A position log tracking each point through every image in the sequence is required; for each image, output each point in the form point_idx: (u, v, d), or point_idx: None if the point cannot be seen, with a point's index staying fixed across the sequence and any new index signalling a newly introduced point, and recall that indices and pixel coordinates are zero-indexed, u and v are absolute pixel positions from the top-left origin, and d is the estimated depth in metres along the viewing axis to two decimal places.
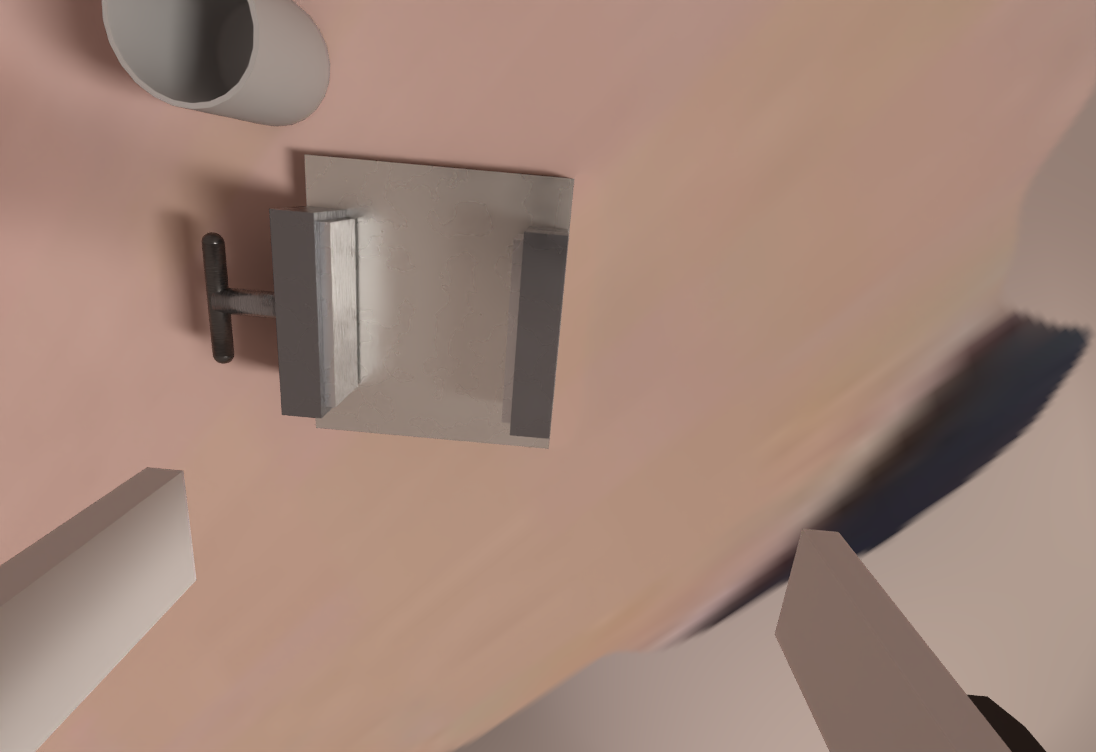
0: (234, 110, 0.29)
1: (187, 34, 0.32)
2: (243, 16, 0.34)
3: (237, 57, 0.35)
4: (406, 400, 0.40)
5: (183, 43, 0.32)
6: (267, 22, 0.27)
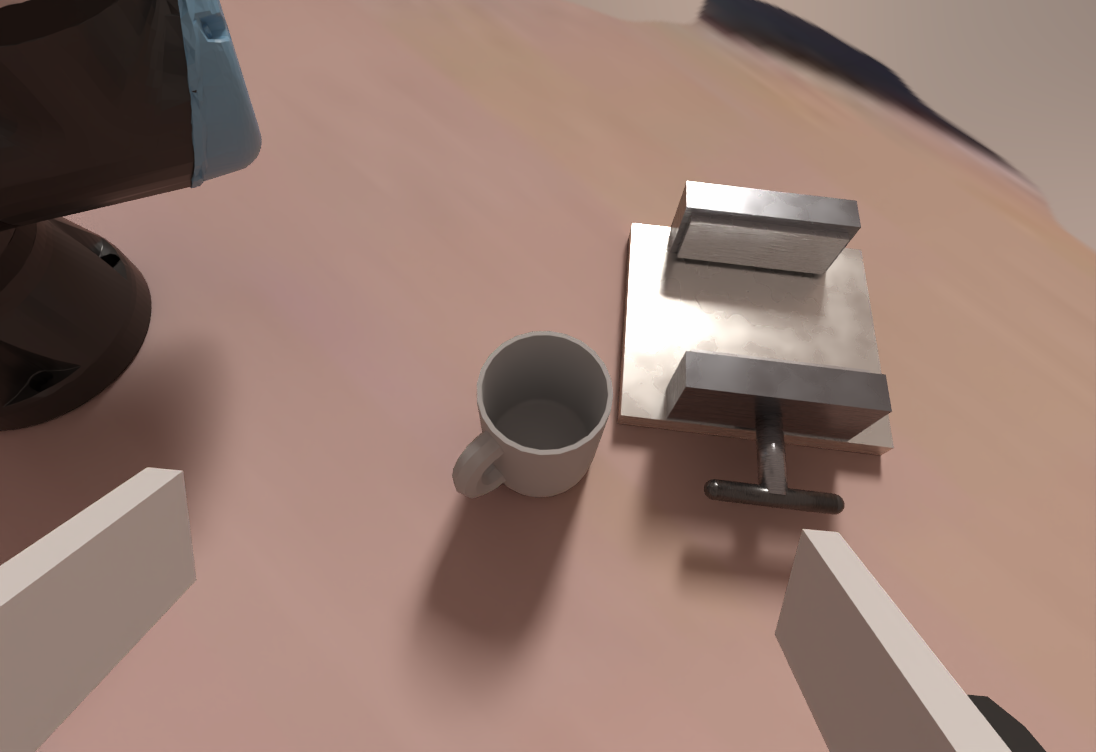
0: None
1: None
2: None
3: None
4: (841, 358, 0.41)
5: None
6: None
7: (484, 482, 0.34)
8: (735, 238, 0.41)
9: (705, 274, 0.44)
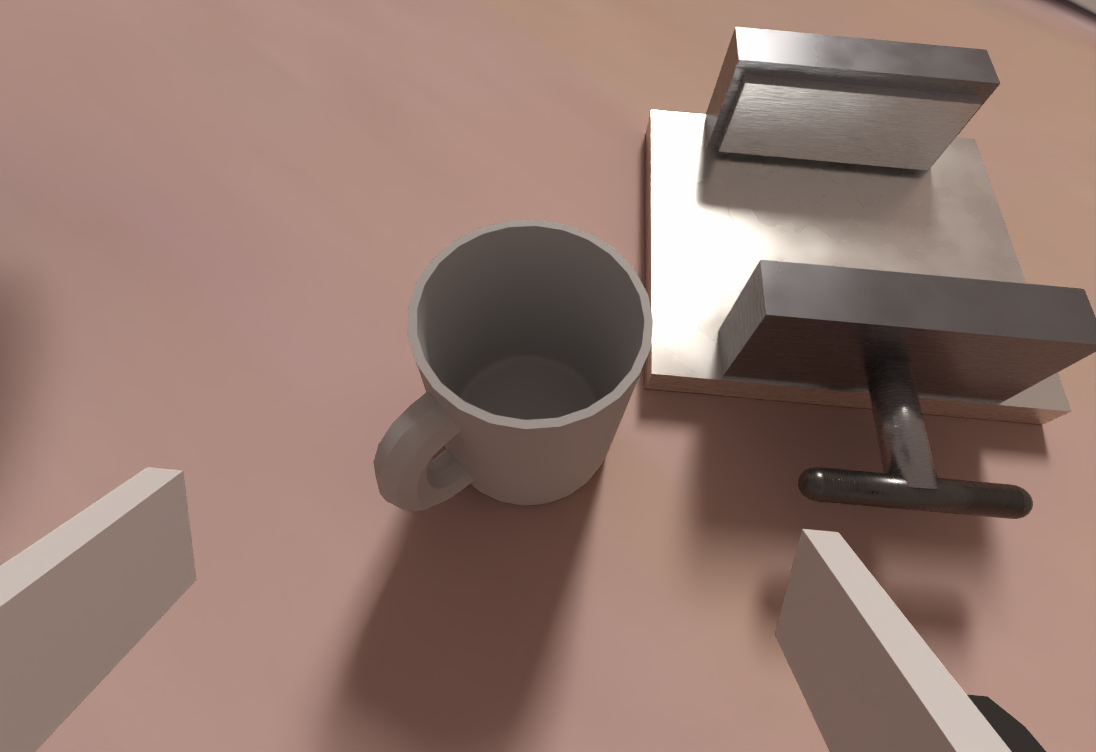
0: None
1: None
2: None
3: None
4: None
5: None
6: None
7: (435, 484, 0.20)
8: (808, 111, 0.28)
9: (760, 174, 0.30)
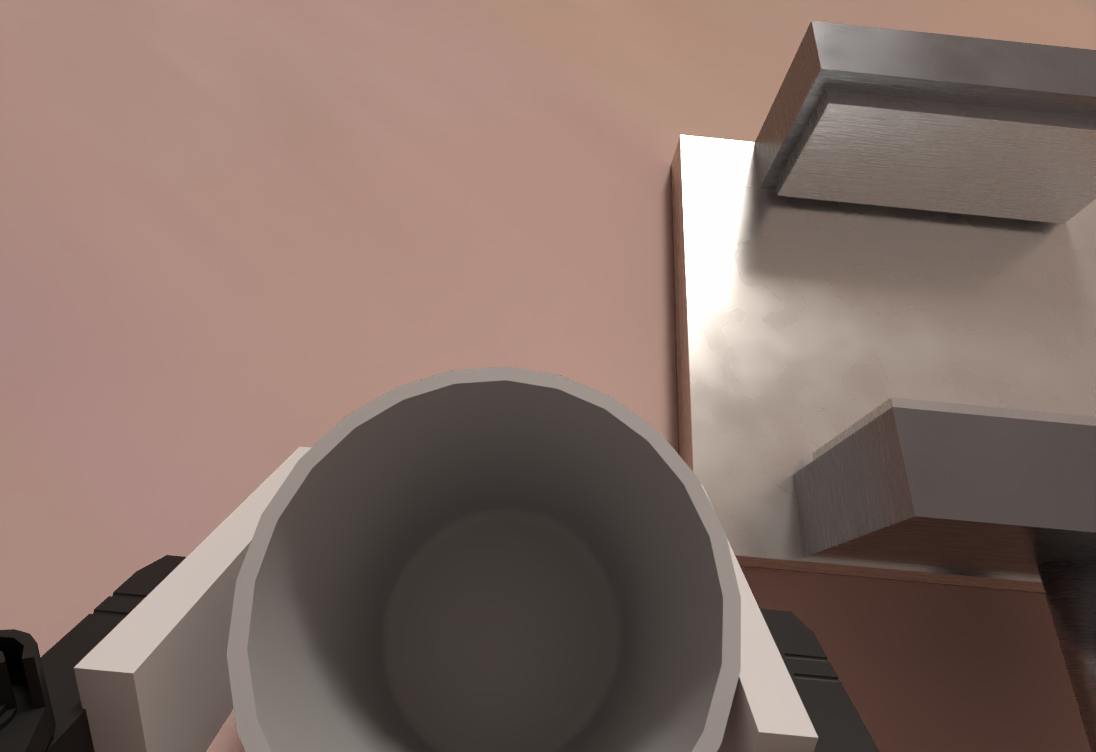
0: None
1: None
2: (410, 683, 0.15)
3: (491, 713, 0.15)
4: None
5: None
6: None
7: None
8: (914, 144, 0.19)
9: (835, 228, 0.22)
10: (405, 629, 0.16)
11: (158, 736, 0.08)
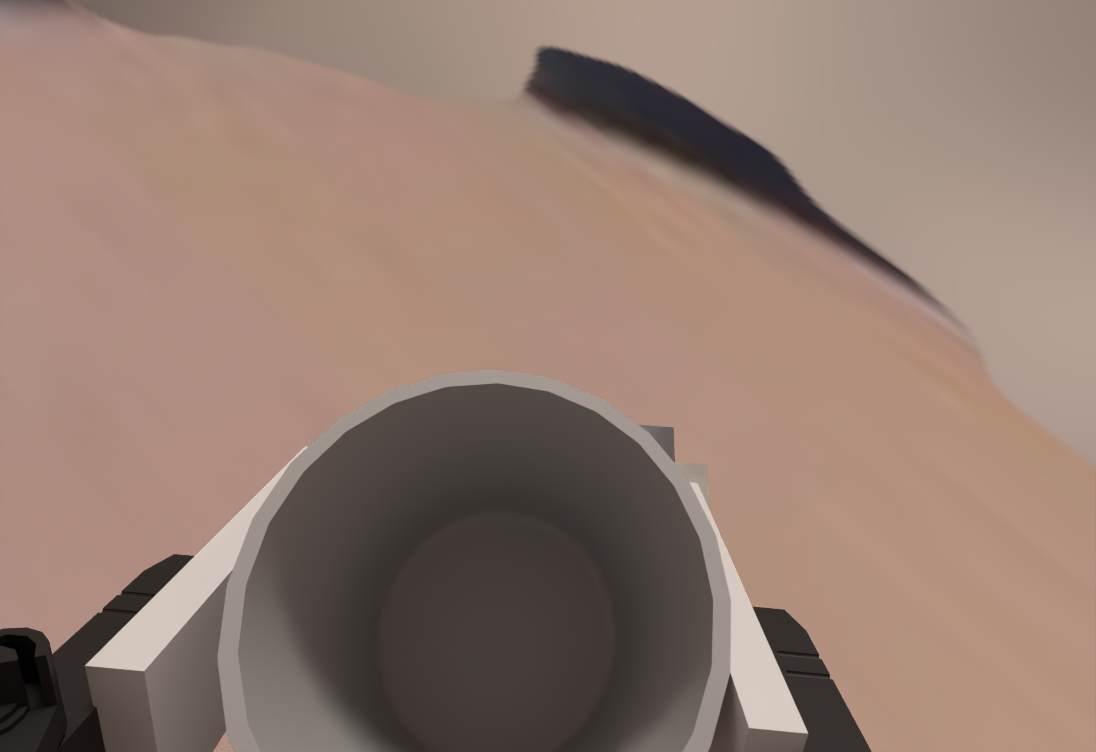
0: None
1: None
2: (406, 685, 0.15)
3: (487, 715, 0.15)
4: None
5: None
6: None
7: None
8: None
9: None
10: (401, 631, 0.16)
11: (168, 734, 0.08)
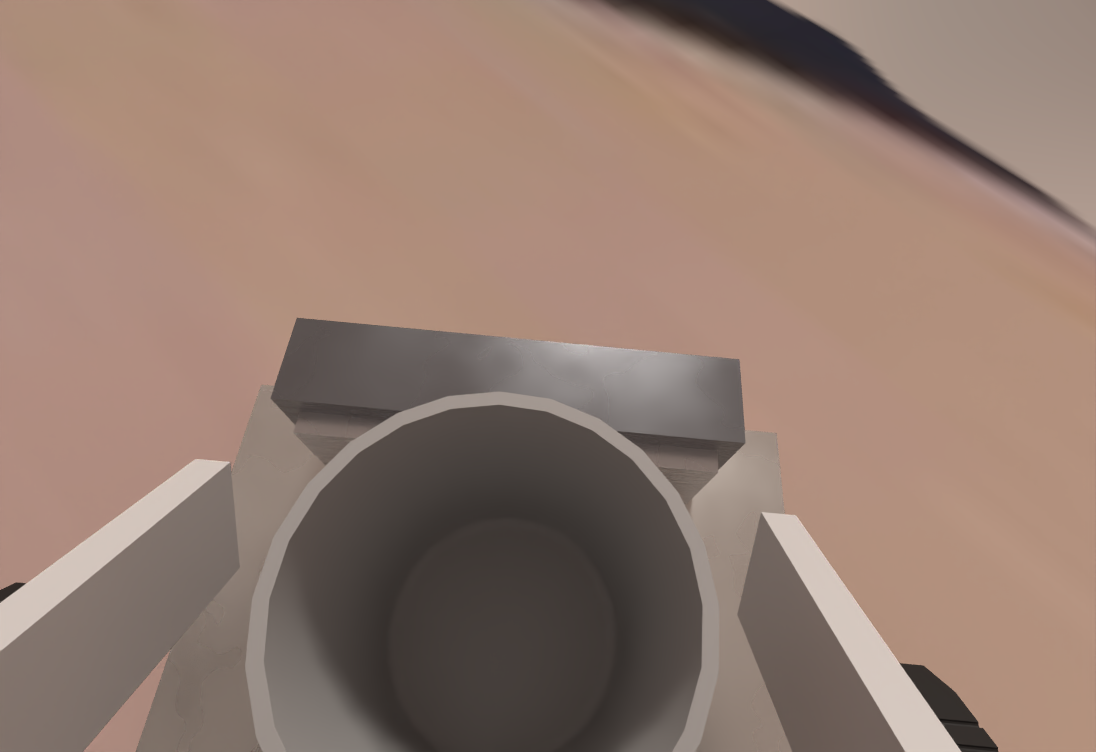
0: None
1: None
2: (415, 688, 0.16)
3: (493, 716, 0.16)
4: None
5: None
6: None
7: None
8: None
9: None
10: (409, 636, 0.17)
11: None
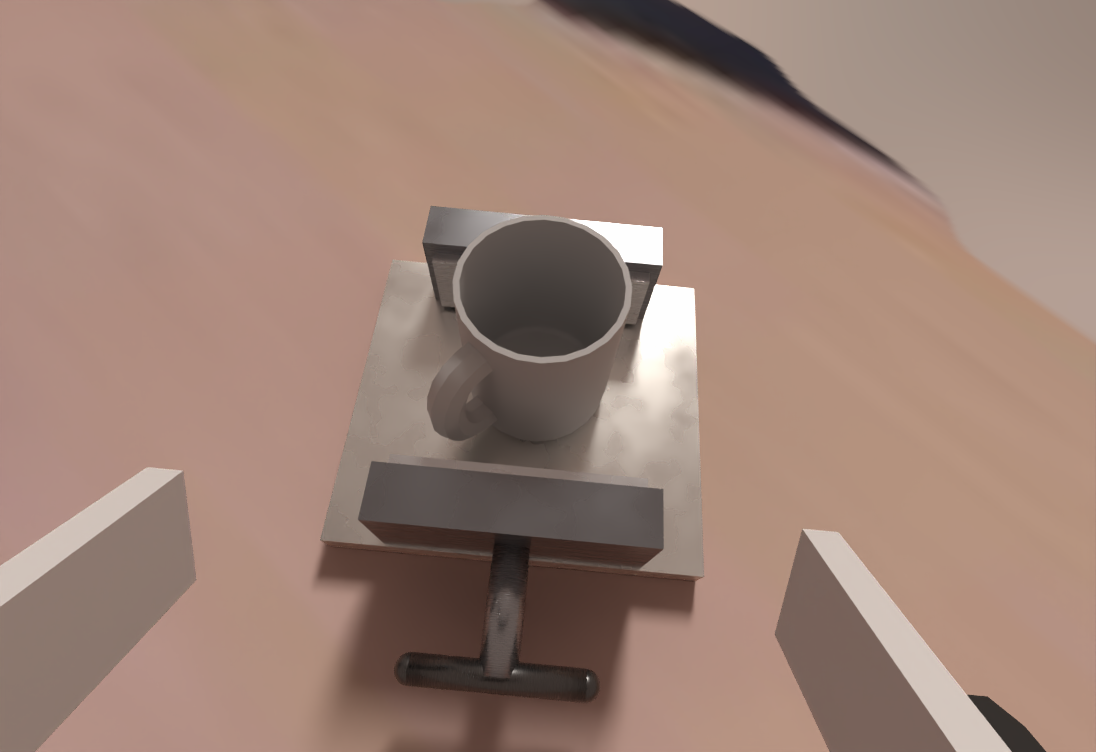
0: None
1: None
2: None
3: None
4: (647, 443, 0.30)
5: None
6: None
7: (469, 419, 0.26)
8: None
9: None
10: None
11: None
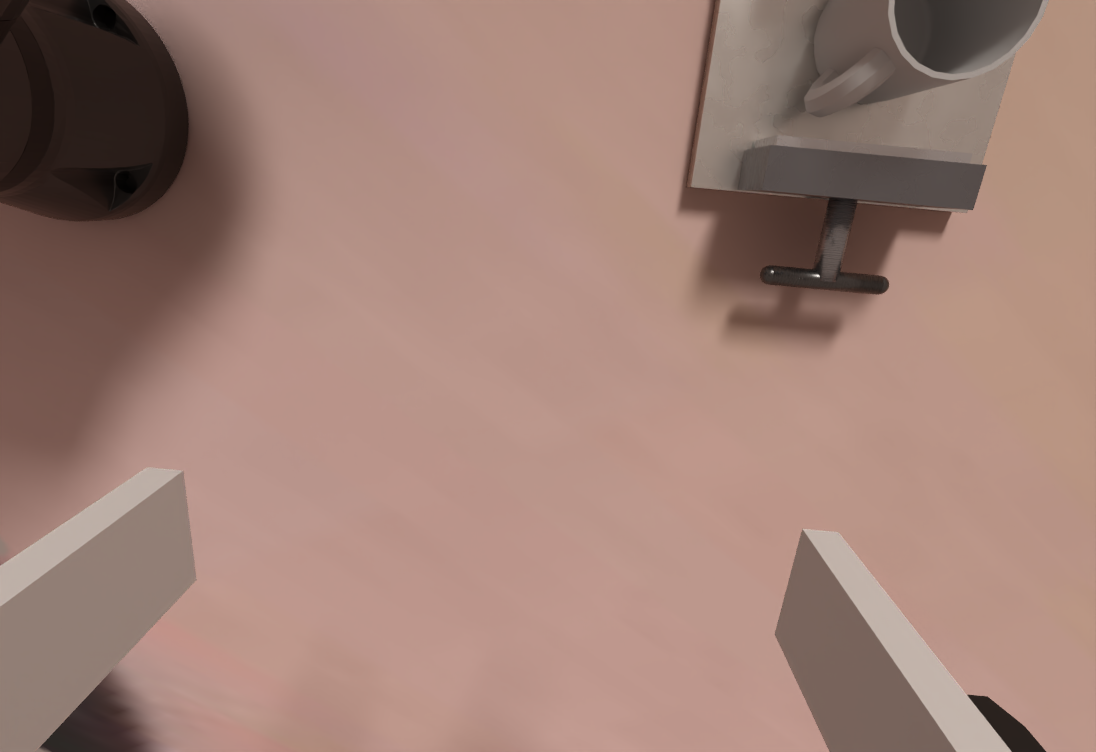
0: None
1: None
2: None
3: None
4: (955, 102, 0.36)
5: None
6: None
7: None
8: None
9: None
10: None
11: None
